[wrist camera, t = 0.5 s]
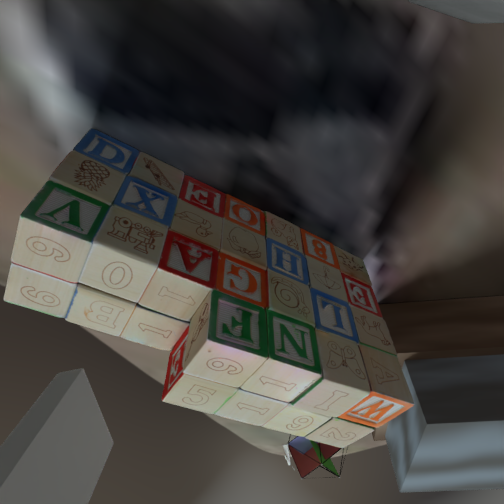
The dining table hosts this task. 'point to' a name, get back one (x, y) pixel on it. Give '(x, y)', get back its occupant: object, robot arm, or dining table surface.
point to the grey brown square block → (448, 394)
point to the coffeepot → (468, 9)
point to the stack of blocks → (210, 294)
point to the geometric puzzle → (310, 455)
